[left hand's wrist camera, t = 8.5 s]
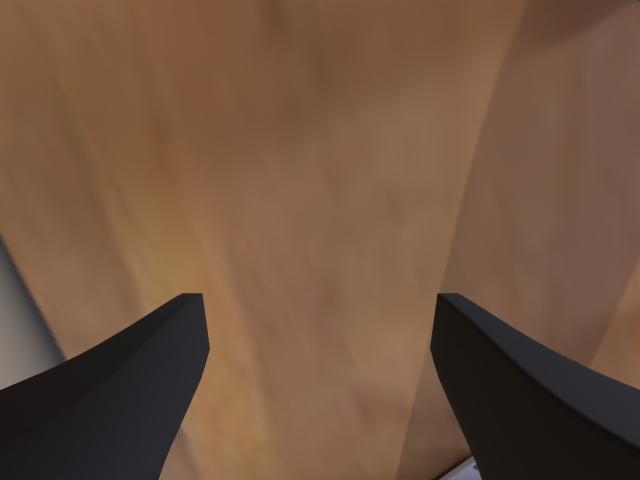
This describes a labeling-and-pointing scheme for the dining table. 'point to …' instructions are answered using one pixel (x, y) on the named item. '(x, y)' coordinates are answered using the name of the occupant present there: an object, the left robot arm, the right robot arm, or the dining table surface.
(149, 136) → the dining table surface
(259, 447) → the dining table surface
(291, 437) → the dining table surface
